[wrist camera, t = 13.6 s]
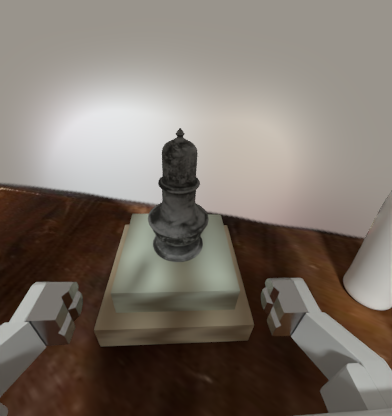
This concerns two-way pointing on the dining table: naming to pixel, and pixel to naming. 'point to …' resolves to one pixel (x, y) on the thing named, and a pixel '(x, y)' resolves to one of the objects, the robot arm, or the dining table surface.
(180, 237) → the dark grey ornamental finial
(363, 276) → the drinking glass
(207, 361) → the dining table surface
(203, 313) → the brick tower base
